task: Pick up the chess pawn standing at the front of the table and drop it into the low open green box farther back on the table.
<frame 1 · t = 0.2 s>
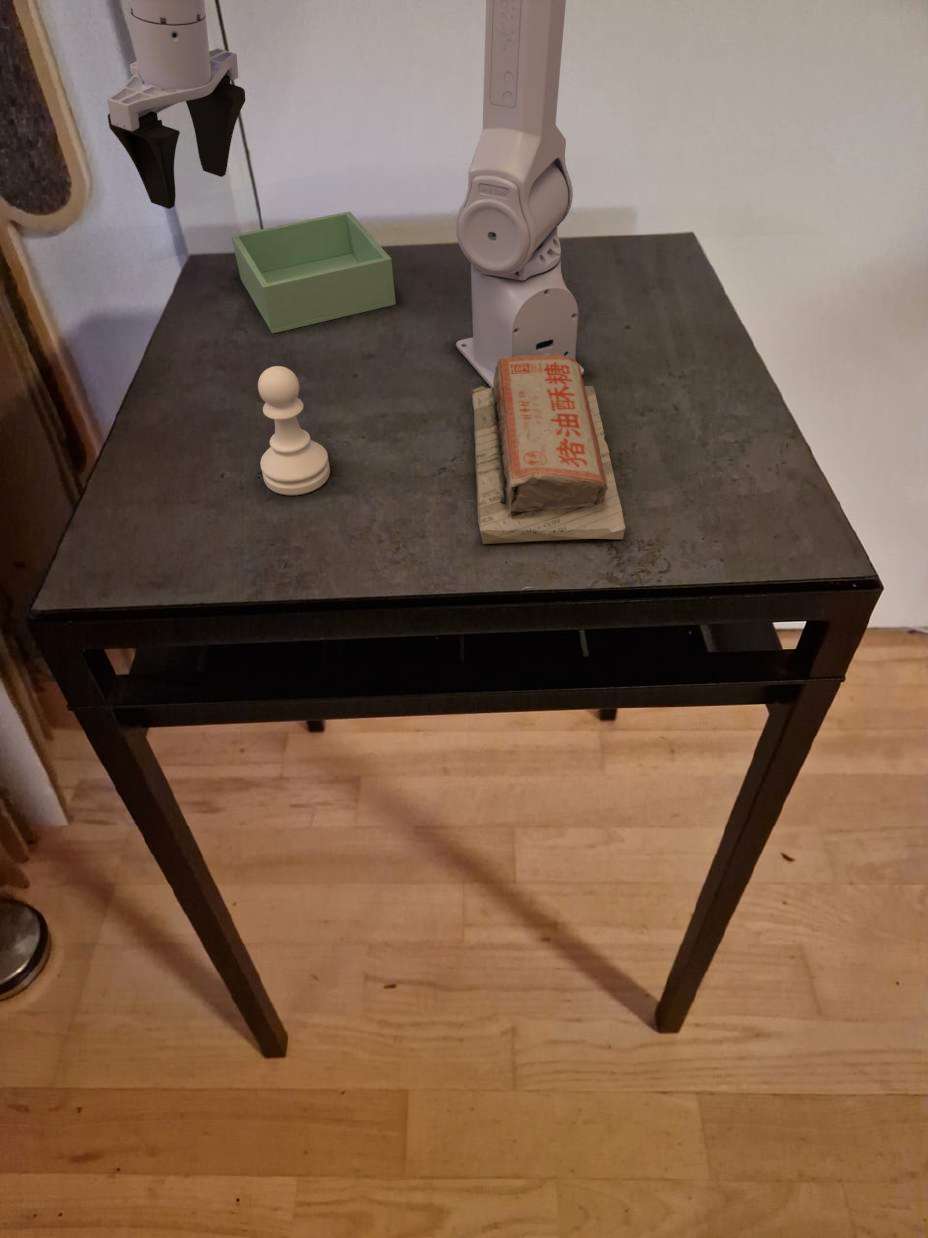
hand: (189, 187, 80), 10 cm above the table, tool pointing down, fingers open, 7 cm apart
packaged product: (541, 468, 67), on the table
open green box: (316, 291, 88), on the table
chess pawn: (297, 478, 67), on the table
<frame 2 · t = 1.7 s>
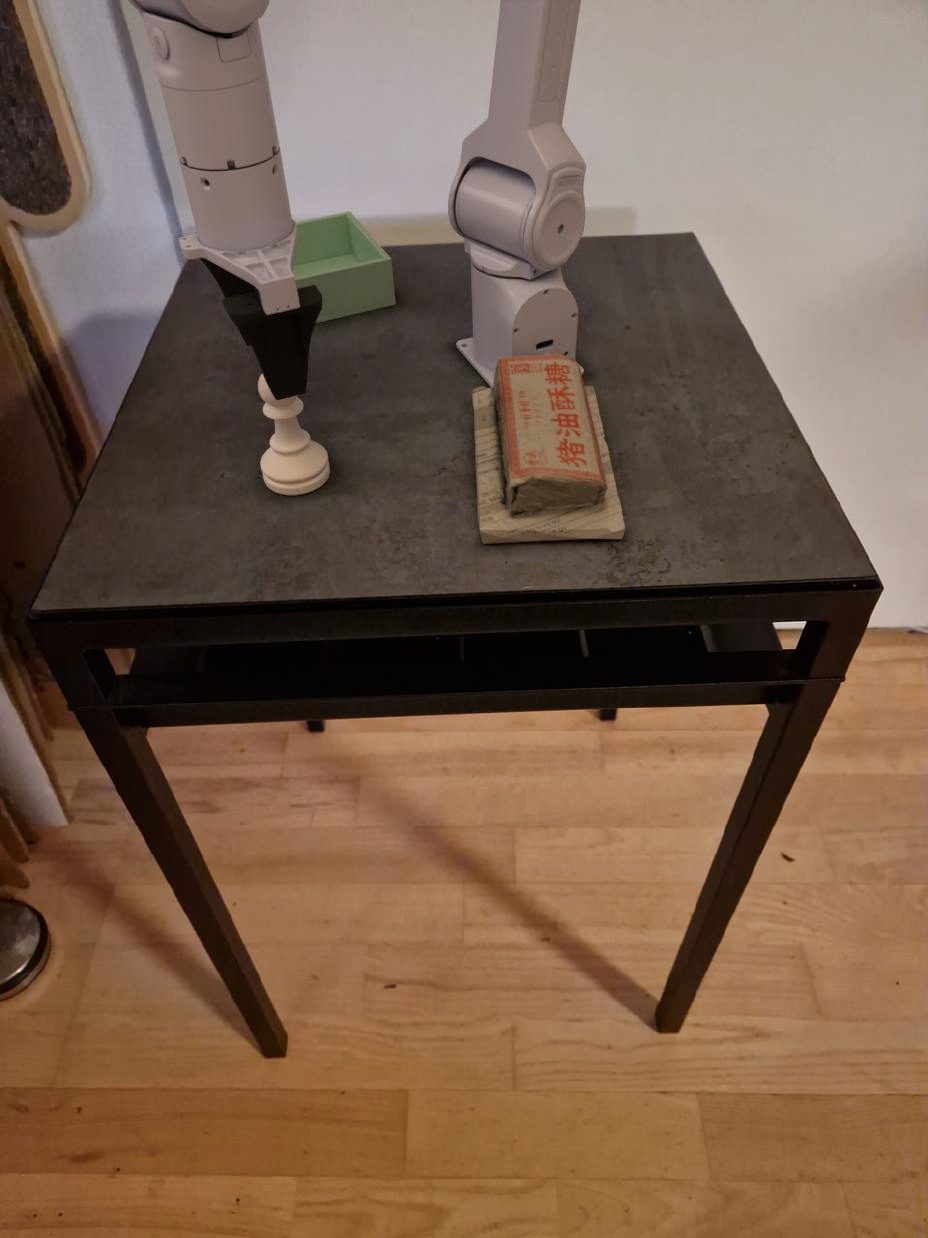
hand: (274, 366, 61), 9 cm above the table, tool pointing down, fingers open, 7 cm apart
nothing on the table moved.
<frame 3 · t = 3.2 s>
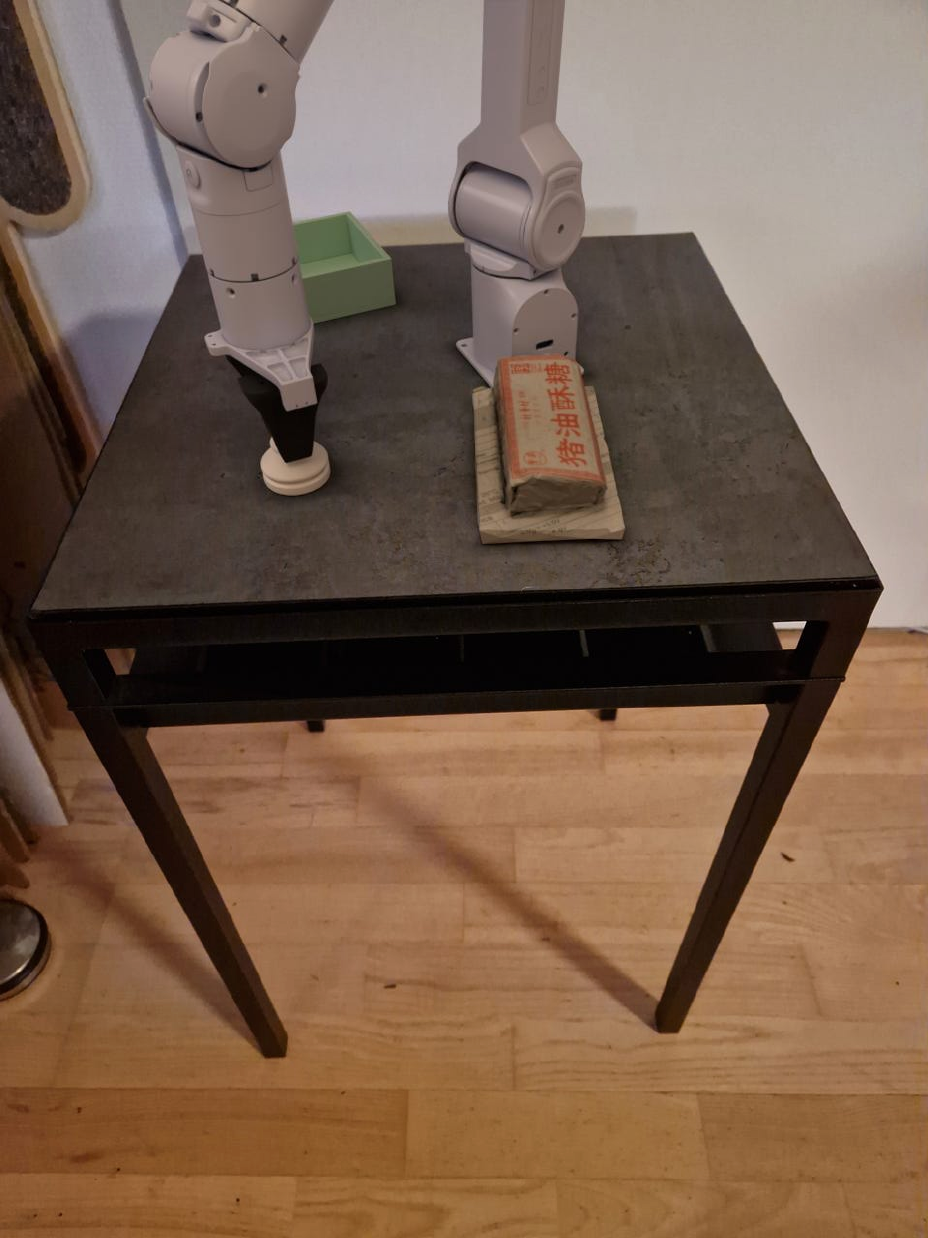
hand: (290, 444, 65), 3 cm above the table, tool pointing down, fingers closed on chess pawn, 3 cm apart
chess pawn: (298, 478, 67), on the table, touching gripper
everything else where it was.
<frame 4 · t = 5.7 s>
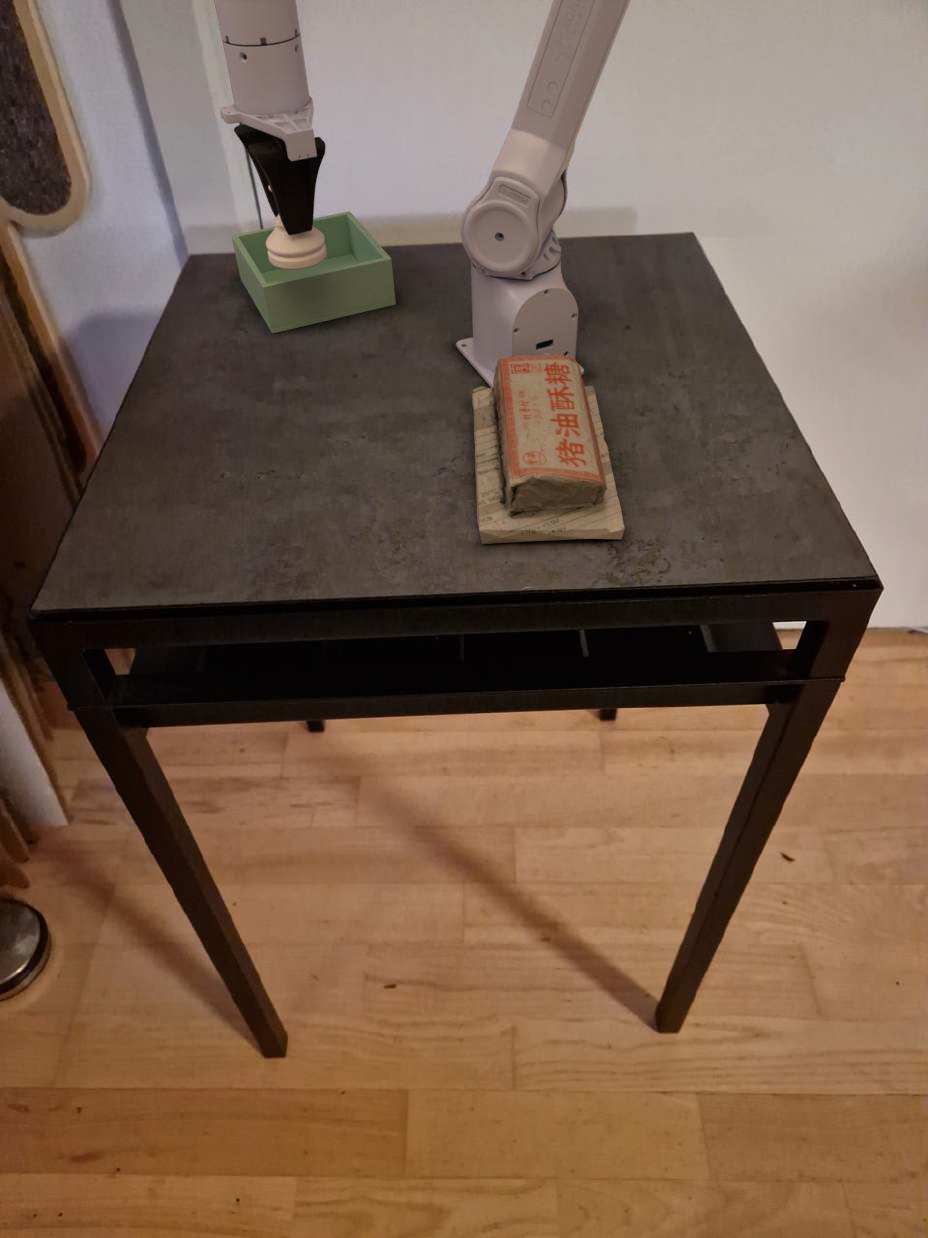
hand: (293, 223, 75), 10 cm above the table, tool pointing down, fingers closed on chess pawn, 3 cm apart
chess pawn: (298, 259, 77), point 7 cm above the table, touching gripper
everything else where it was.
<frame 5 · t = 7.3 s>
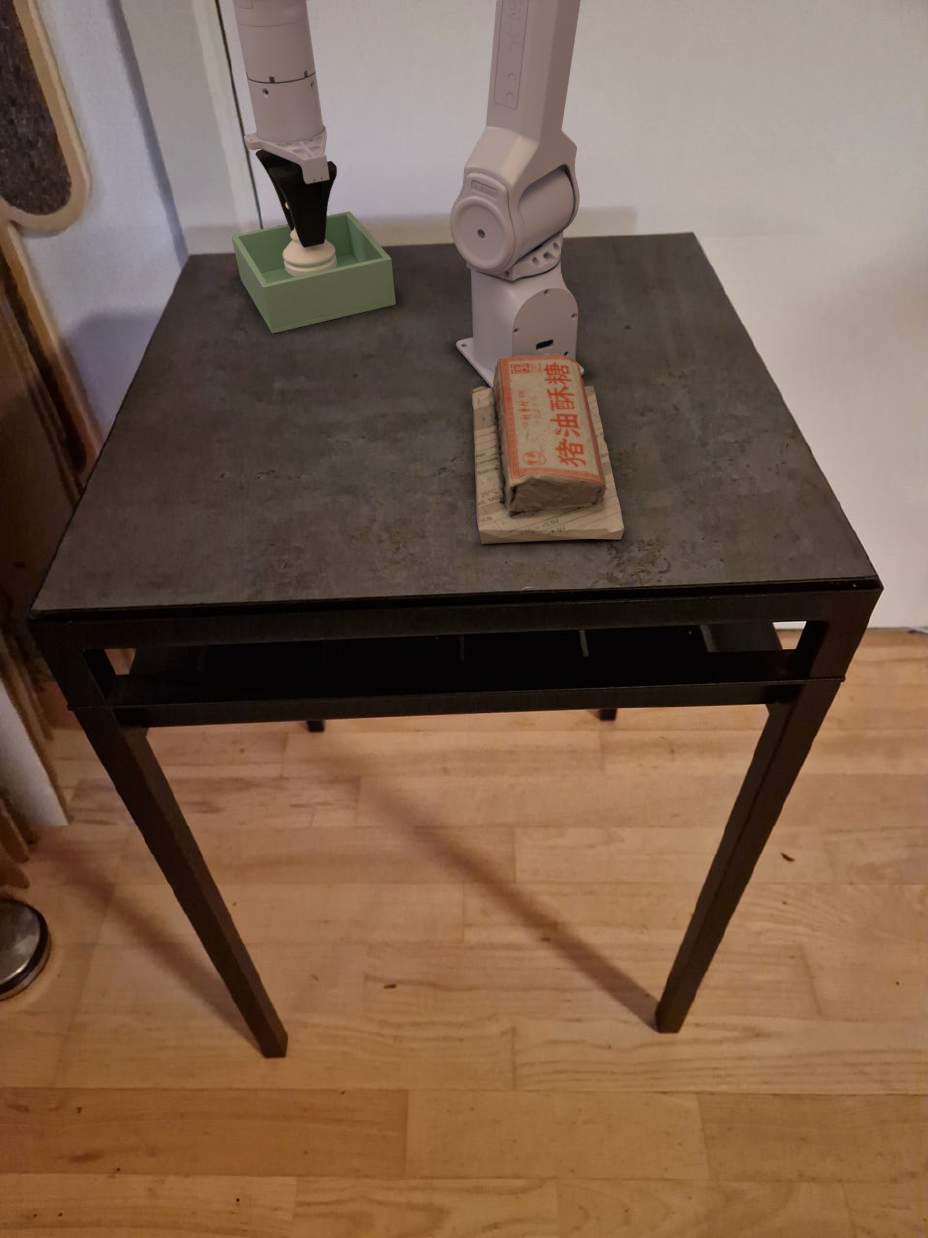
hand: (307, 236, 84), 5 cm above the table, tool pointing down, fingers closed on chess pawn, 3 cm apart
chess pawn: (311, 269, 86), point 2 cm above the table, touching gripper
everything else where it was.
when the fingers open (3 cm above the table, at t = 8.3 s): chess pawn stays where it is, resting on open green box.
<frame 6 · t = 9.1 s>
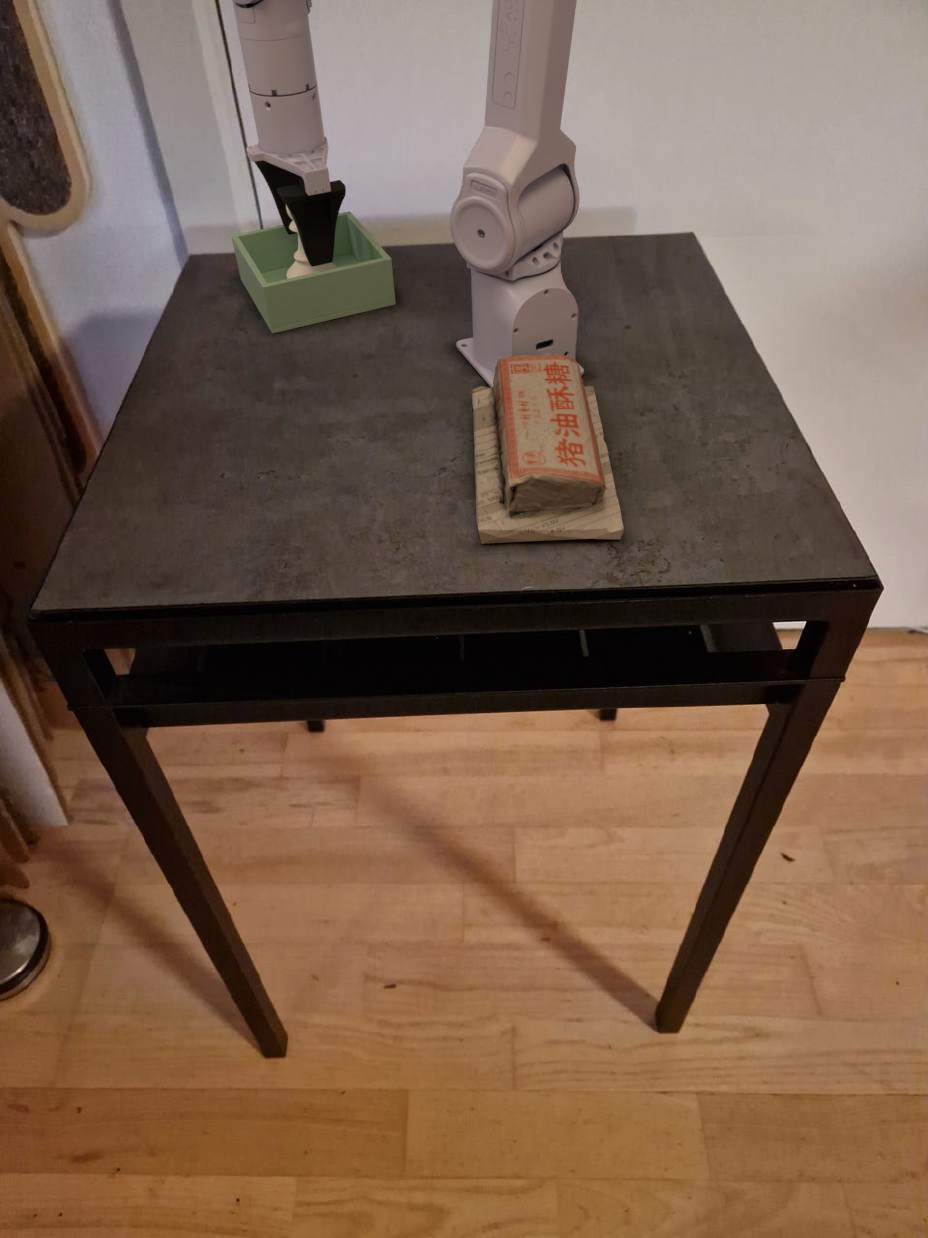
hand: (309, 246, 85), 4 cm above the table, tool pointing down, fingers open, 7 cm apart
chess pawn: (314, 289, 88), resting on open green box
everything else where it was.
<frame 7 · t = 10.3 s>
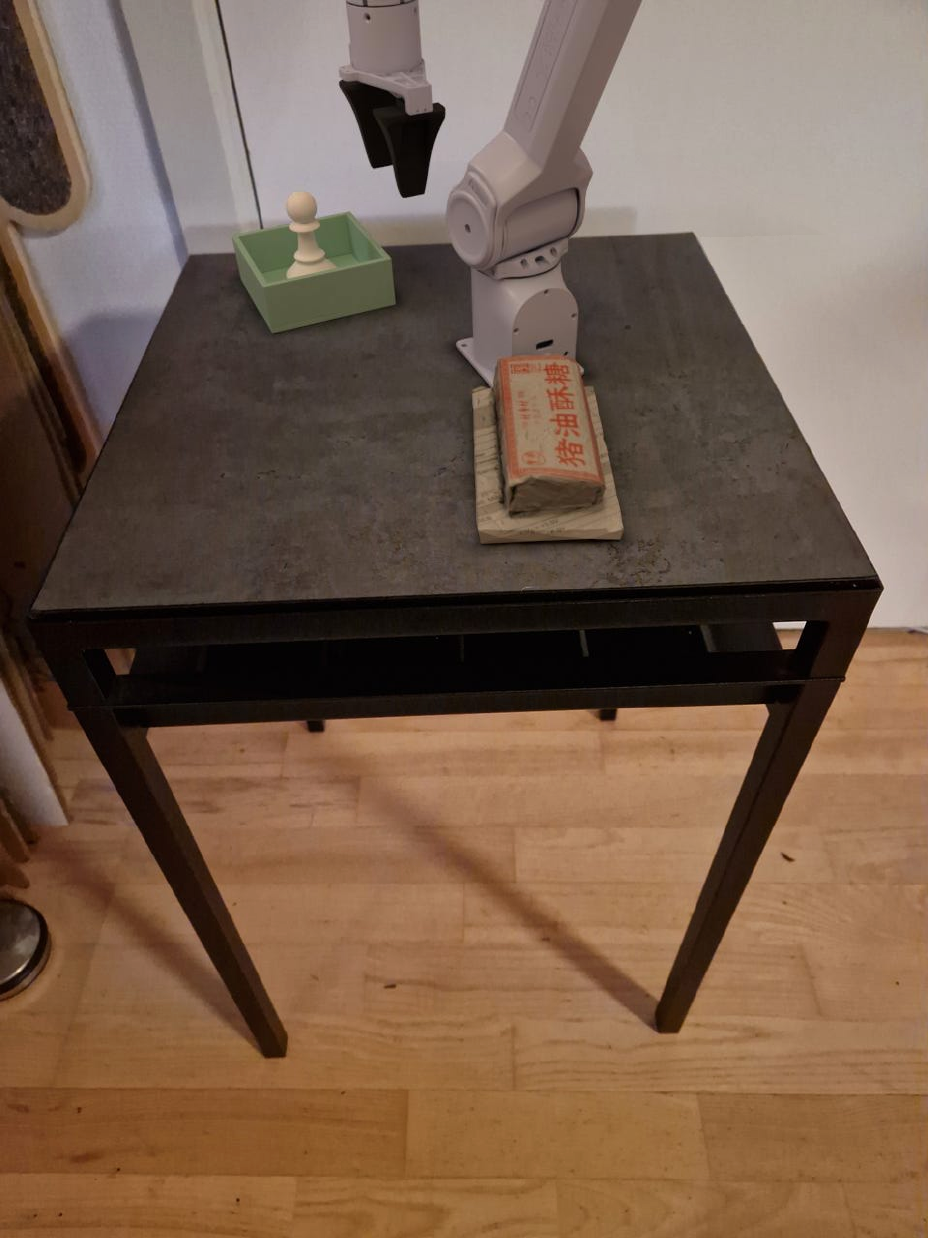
hand: (397, 179, 80), 10 cm above the table, tool pointing down, fingers open, 7 cm apart
nothing on the table moved.
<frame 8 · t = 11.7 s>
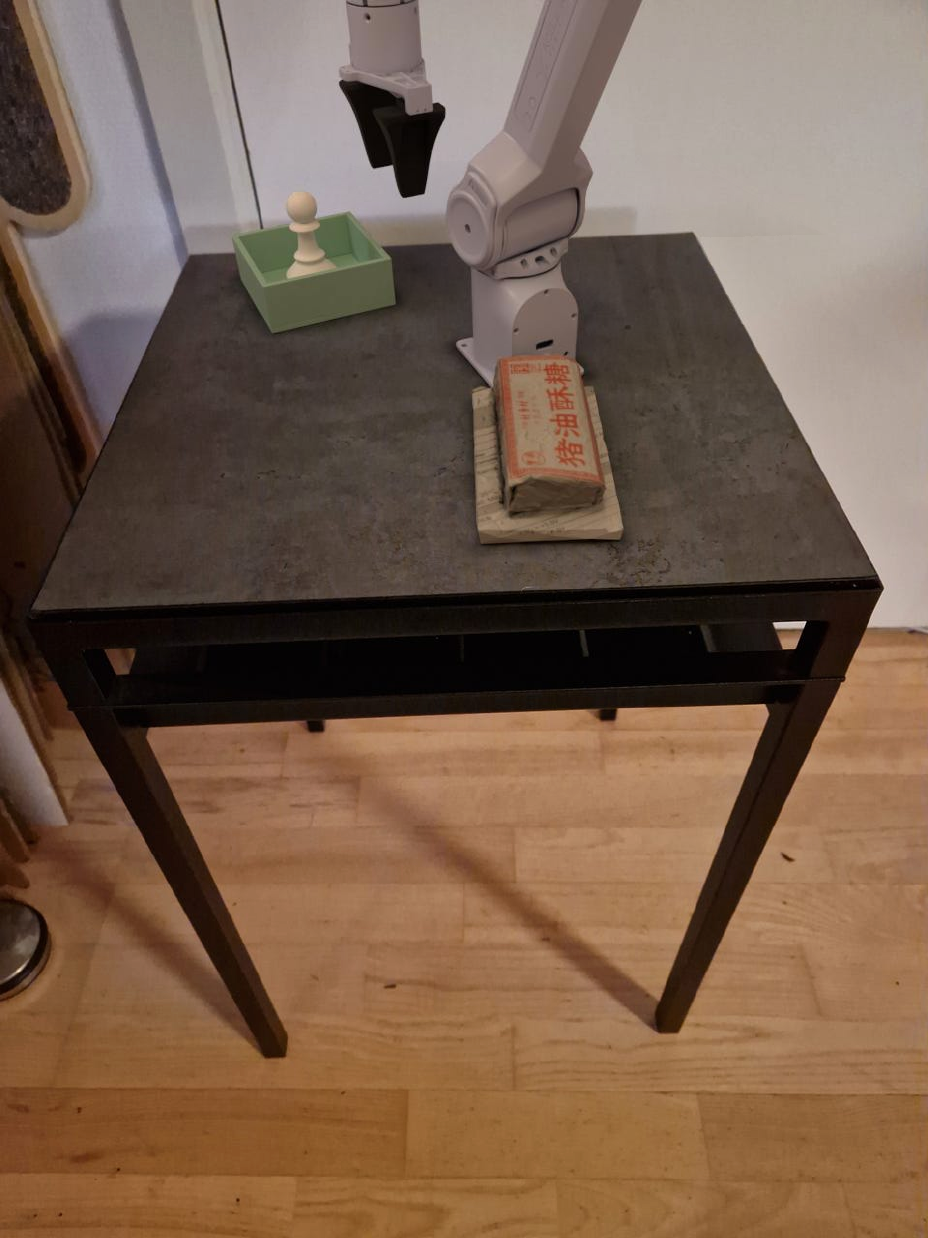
hand: (397, 179, 80), 10 cm above the table, tool pointing down, fingers open, 7 cm apart
nothing on the table moved.
at the end: chess pawn inside the target area in the open green box (0.1 cm from its centre), point 0.3 cm above the open green box's base; the gripper is holding nothing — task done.
